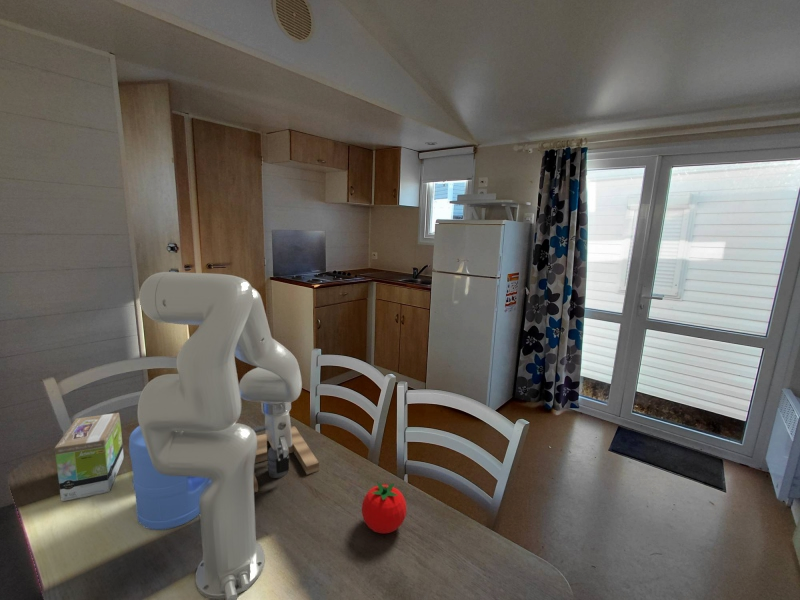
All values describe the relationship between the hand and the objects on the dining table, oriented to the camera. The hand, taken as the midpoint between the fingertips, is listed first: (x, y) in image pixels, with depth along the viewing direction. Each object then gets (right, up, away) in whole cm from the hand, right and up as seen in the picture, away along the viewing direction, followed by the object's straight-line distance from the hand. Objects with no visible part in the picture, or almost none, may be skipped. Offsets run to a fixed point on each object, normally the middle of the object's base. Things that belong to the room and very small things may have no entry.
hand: (277, 461), depth 102 cm
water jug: (-20, -6, -13) cm, 25 cm away
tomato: (+30, -8, -16) cm, 35 cm away
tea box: (-47, -3, -5) cm, 47 cm away
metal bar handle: (-6, +1, +9) cm, 10 cm away
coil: (0, -3, +1) cm, 4 cm away
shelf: (-3, -2, +6) cm, 7 cm away
